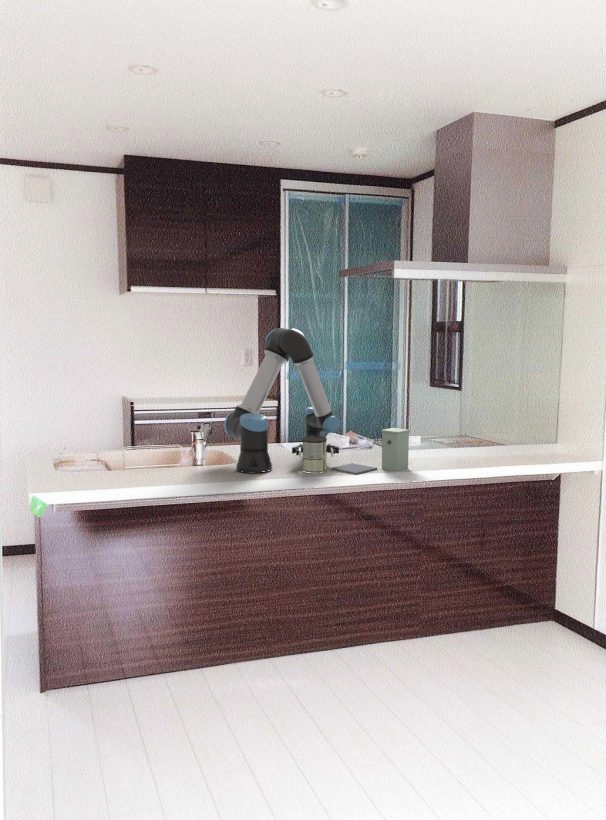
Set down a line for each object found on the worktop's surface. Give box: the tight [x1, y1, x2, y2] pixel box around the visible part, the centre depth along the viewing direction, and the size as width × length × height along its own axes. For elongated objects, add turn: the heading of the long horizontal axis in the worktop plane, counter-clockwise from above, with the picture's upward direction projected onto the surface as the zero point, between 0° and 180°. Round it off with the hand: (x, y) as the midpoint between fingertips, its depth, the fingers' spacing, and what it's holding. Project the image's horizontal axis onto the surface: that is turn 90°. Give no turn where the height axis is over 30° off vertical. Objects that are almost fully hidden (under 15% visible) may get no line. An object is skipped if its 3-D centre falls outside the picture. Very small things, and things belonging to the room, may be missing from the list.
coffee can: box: [301, 436, 328, 474], centre depth 308 cm, size 10×10×14 cm
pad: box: [330, 463, 378, 475], centre depth 312 cm, size 14×14×1 cm
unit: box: [380, 427, 411, 472], centre depth 313 cm, size 9×9×17 cm
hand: (316, 453), depth 308 cm, fingers open, 13 cm apart
